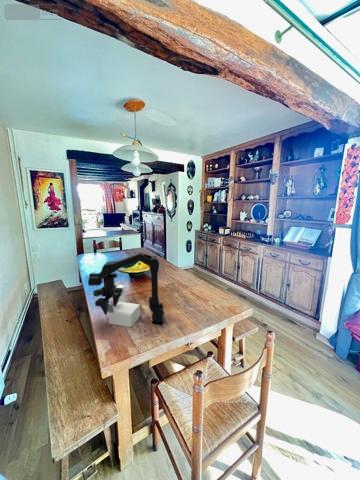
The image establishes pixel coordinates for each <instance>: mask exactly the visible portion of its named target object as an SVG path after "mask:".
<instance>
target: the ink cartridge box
mask: <svg viewBox="0 0 360 480" xmlns="http://www.w3.org/2000/svg"><path fill="white" fill-rule="evenodd" d="M114 284H115V285H116V287H117V288H122V290H123V293H121V296H120V298H119V300H118V302H125V303H126V286H125V285H123V284H122V281H121V280H119V281H116V282H114ZM110 302H111V303H110V305H112V306H114V304H113V298H111V299H110ZM118 302H117V303H118Z"/></svg>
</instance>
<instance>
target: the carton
mask: <svg viewBox="0 0 360 480" xmlns="http://www.w3.org/2000/svg"><path fill="white" fill-rule="evenodd" d="M140 306H141V305H140V304H139V303H138V304H137V303H131V302H126V301H125V302H118V303H117V305H116V306H114V305H113V309H114V312H117V313H123V314H130V315H131V327H130V328H132V327H133V326H134V324H135V323H136V322H137V321H138V319H140V317H141V307H140Z"/></svg>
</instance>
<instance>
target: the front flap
mask: <svg viewBox="0 0 360 480" xmlns="http://www.w3.org/2000/svg"><path fill="white" fill-rule="evenodd" d="M113 307H114V305H113V304H109V308H108V312H107V314H108V324H109V325H116V326H120V327H121V326H122V327H128V328H132V327H131V315H130V314H123V313H117V312H114V309H113Z"/></svg>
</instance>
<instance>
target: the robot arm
mask: <svg viewBox="0 0 360 480" xmlns="http://www.w3.org/2000/svg"><path fill="white" fill-rule="evenodd" d="M137 262H141V263H142V264H143V265H144V264H145V265H146V266H148V267H149V272H150V280H151V283H150V284H151V296H149V297H148V309H149V311H151V313H152V314H151V324H155V325H160V326H162V325H163V323H164V322H165V321H166V318H165V311H164V305H163V304H162V302H161V301H160V298H159V297H160V296H159V289H158V287H159V285H158V283H159V281H158V274H159V270H160V269H159V268H160V260H159V257H157V256H152V255H149V254H146V253H143V252H141V251H140V252H138V253H135V254H132V255H130V256H127V257H125V258H122V259H119V260H112V261H111V260H110V261H107V262H105V263H104V264H103V266H102V267H101V271H100V272H99V273H98V272H97V273H93V272H90V273H89V274H88V281H87V284H88V286H90V287H91V286H92V287H93V286H94V287H95V286H96V287H97V286H101V285H103V286H102V287H99V288H97V289H95V290H93V291H92V292H93V293H92V295H93V297H96V298H98V297H99V296H101V297H100V298H98V299H97V300H95V301H94V305H95V307H100V308H101V310H102V312H103V314H104V315H108V308H109V305H110V300H111V298H113V304H114V305H113V304H112V305H113V307H114V306H116V305H117V302H118V300H119V298H120V296H121V293H123V290H122V288H117V287H116V285H117V284H114V283H115V279H116V278H118V275H119V274H117V273H116V272H117V271H118V270H119V269H121V268H124V267H126V266H130V265H132V264H135V263H137Z"/></svg>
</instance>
